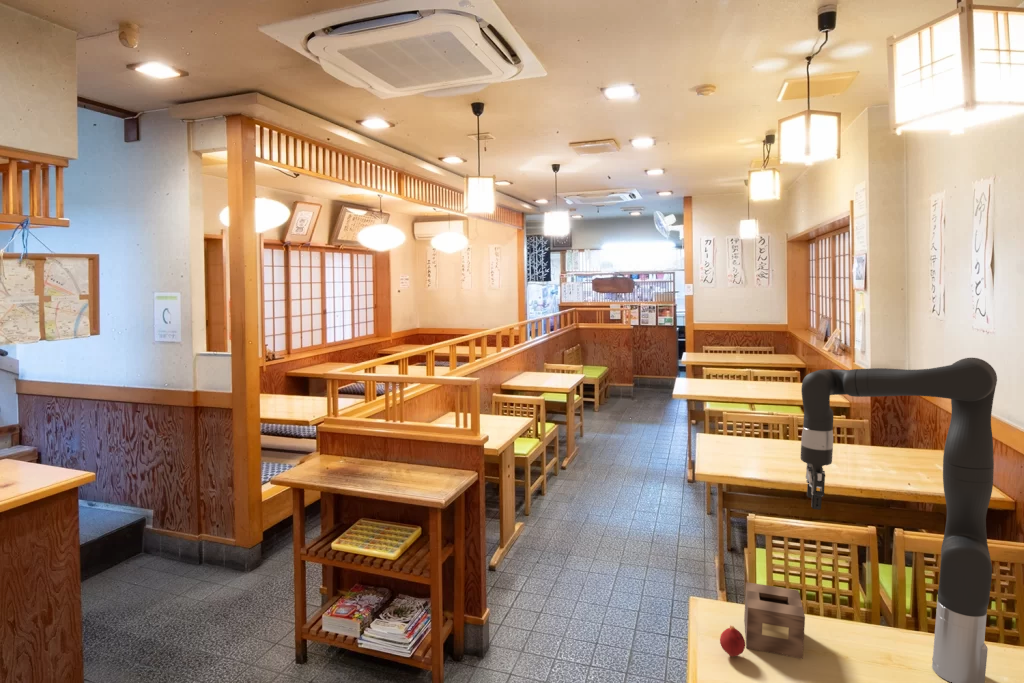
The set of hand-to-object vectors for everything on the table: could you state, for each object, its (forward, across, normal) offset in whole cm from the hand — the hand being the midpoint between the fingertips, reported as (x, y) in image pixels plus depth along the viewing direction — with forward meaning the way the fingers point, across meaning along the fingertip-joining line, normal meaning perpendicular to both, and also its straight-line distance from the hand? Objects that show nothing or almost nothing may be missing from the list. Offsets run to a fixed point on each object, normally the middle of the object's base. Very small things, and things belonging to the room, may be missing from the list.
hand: (813, 503), depth 159 cm
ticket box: (+33, -13, +10) cm, 37 cm away
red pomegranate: (+33, -24, +20) cm, 46 cm away
